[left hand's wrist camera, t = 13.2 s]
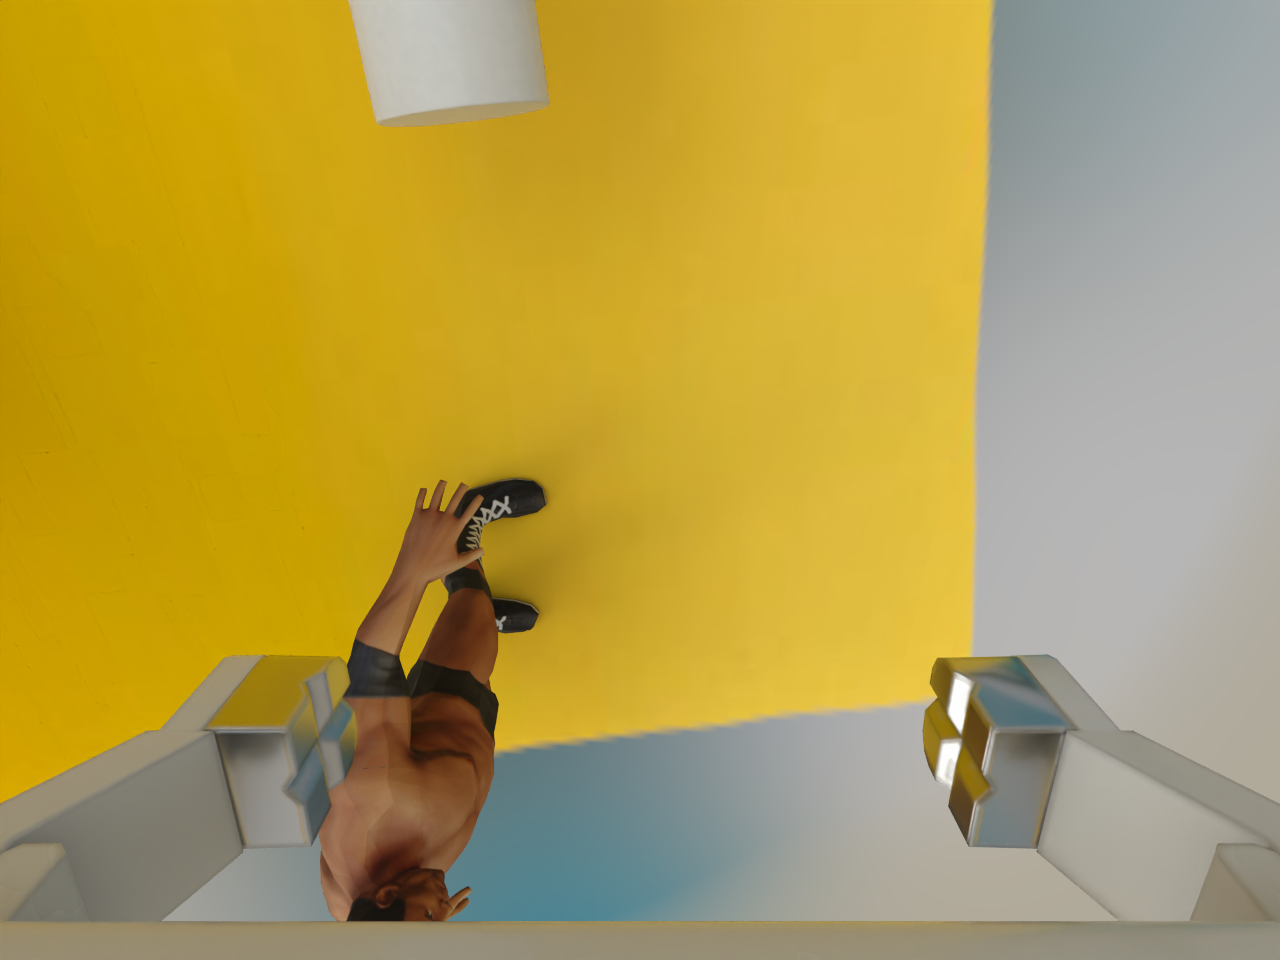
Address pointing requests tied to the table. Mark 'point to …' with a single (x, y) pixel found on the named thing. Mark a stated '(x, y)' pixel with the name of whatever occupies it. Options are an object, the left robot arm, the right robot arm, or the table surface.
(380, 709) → the figurine
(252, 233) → the table surface
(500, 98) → the rod
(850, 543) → the table surface
